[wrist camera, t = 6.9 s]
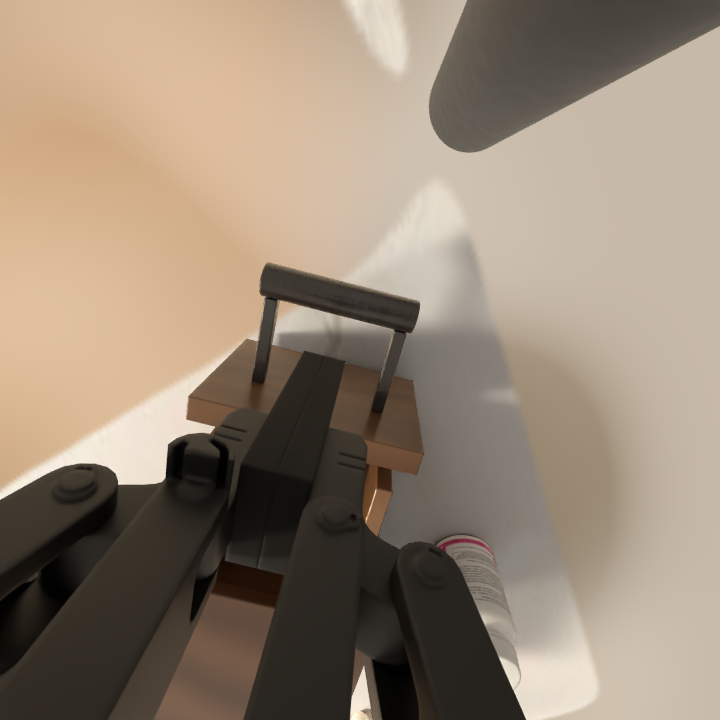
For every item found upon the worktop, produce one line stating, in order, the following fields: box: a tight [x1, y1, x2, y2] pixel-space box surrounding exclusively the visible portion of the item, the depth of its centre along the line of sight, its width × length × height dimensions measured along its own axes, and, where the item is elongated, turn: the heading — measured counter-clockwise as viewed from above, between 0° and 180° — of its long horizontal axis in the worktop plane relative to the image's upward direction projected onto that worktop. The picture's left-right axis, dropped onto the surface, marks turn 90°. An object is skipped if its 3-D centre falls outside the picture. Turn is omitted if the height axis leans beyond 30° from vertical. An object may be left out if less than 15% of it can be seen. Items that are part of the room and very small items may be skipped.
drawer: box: [186, 263, 424, 595], centre depth 22 cm, size 19×10×8 cm, turn 166°
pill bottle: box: [436, 535, 521, 690], centre depth 27 cm, size 5×5×8 cm
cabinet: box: [154, 534, 379, 720], centre depth 27 cm, size 15×12×10 cm
